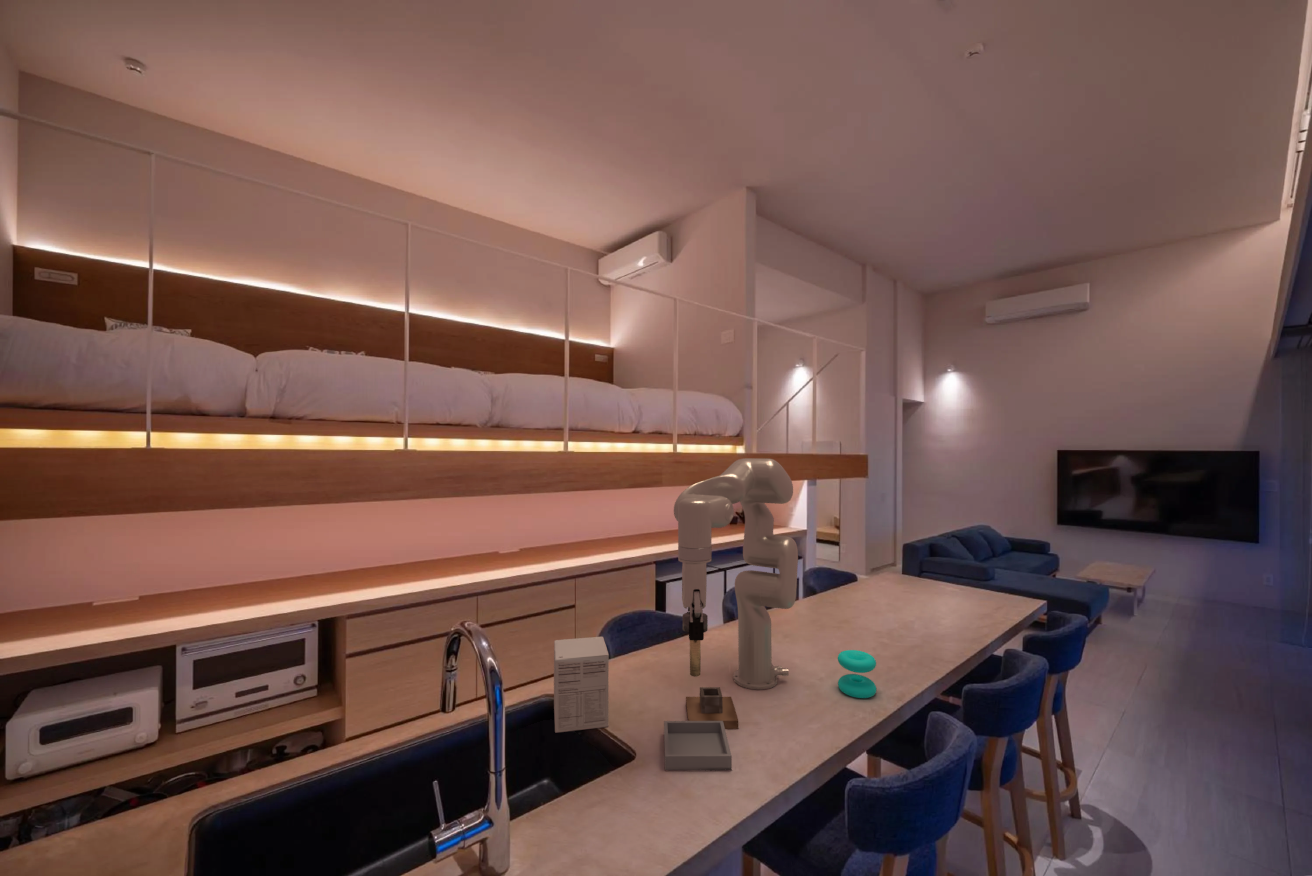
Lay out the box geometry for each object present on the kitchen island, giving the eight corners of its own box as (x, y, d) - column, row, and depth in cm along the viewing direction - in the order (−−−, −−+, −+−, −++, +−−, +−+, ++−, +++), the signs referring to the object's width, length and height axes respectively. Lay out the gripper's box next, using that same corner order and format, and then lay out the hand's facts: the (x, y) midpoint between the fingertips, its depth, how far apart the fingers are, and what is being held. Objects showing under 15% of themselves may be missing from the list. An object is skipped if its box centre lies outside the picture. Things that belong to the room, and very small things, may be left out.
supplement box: (609, 727, 125) (609, 654, 125) (554, 734, 122) (554, 659, 122) (603, 701, 137) (603, 635, 138) (553, 706, 135) (553, 639, 135)
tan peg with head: (682, 668, 118) (681, 611, 118) (706, 668, 118) (706, 611, 118) (683, 679, 112) (683, 620, 112) (708, 679, 112) (708, 619, 112)
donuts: (866, 666, 136) (831, 655, 143) (867, 704, 136) (831, 691, 143) (882, 655, 143) (847, 645, 150) (882, 691, 142) (847, 680, 150)
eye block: (731, 704, 136) (731, 681, 136) (738, 729, 124) (738, 703, 124) (685, 704, 136) (685, 681, 136) (688, 729, 124) (688, 704, 124)
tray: (723, 733, 122) (722, 720, 122) (731, 770, 108) (731, 756, 108) (664, 733, 122) (664, 721, 122) (665, 770, 108) (664, 756, 108)
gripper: (676, 546, 124) (676, 621, 124) (679, 562, 107) (680, 649, 107) (707, 546, 124) (708, 621, 124) (715, 562, 107) (716, 649, 107)
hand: (695, 633), depth 115 cm, fingers closed on tan peg with head, 5 cm apart
